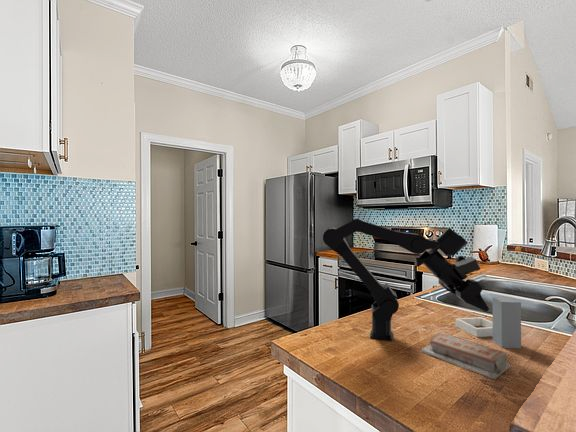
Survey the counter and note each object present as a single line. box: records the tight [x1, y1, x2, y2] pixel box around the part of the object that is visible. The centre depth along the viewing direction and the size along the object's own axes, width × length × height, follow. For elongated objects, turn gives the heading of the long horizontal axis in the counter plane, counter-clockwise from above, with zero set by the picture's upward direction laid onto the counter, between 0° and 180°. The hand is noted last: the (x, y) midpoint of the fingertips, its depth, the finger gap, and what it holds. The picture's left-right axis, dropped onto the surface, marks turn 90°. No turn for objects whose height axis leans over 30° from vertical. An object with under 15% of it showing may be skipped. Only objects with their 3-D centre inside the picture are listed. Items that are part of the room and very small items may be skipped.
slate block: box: [492, 296, 522, 349], centre depth 89 cm, size 5×5×13 cm
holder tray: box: [455, 316, 493, 338], centre depth 99 cm, size 10×10×2 cm
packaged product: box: [420, 332, 511, 380], centre depth 80 cm, size 18×5×10 cm
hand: (479, 305), depth 90 cm, fingers open, 9 cm apart
